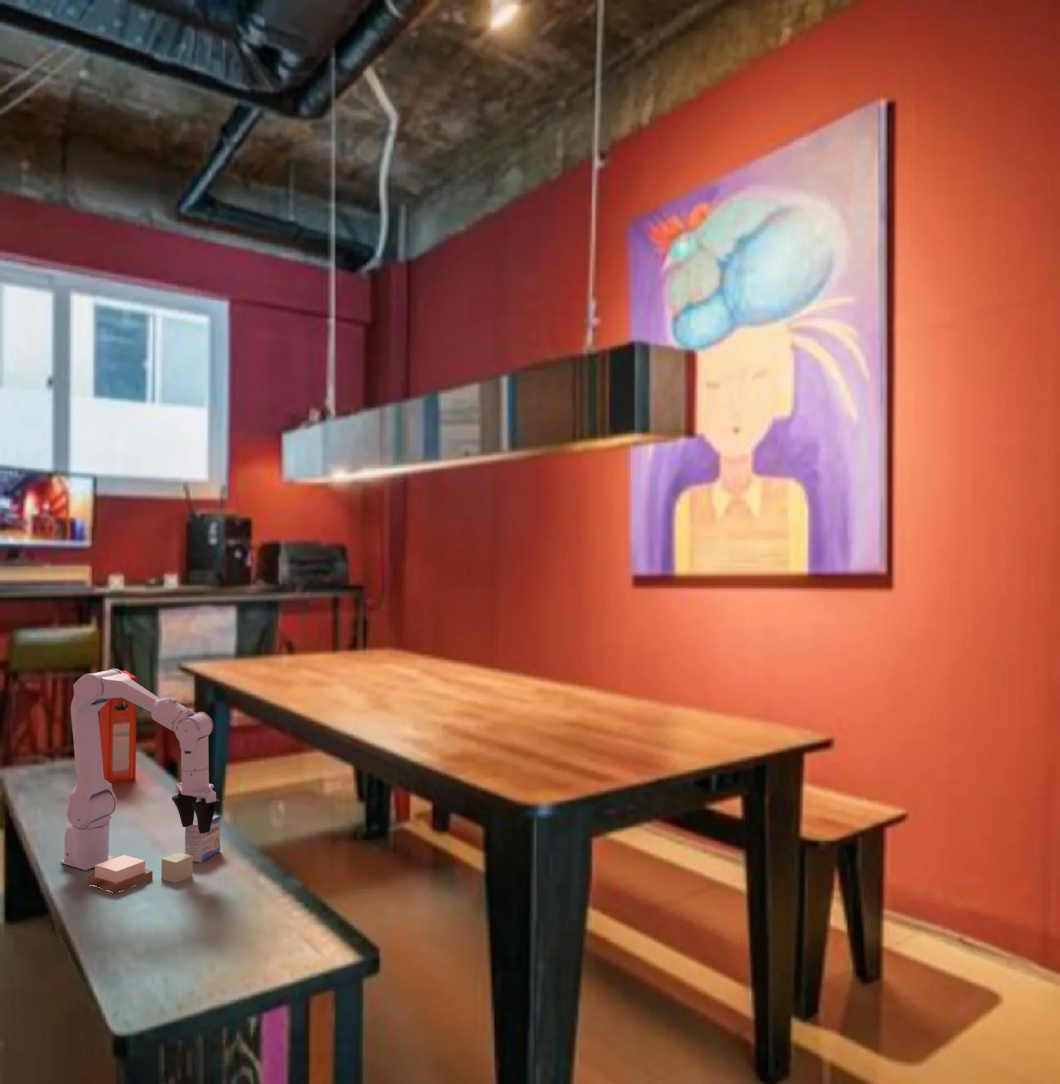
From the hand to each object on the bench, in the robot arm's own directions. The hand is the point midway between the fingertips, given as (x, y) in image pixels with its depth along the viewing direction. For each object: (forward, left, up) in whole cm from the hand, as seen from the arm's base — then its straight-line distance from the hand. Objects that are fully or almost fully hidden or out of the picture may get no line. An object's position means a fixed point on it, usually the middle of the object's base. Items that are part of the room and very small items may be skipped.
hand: (196, 829), depth 188 cm
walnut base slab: (-9, -12, -10) cm, 18 cm away
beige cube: (-1, -4, -10) cm, 11 cm away
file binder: (-86, +42, -10) cm, 97 cm away
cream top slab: (-9, -12, -8) cm, 17 cm away
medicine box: (-6, +8, -10) cm, 14 cm away
